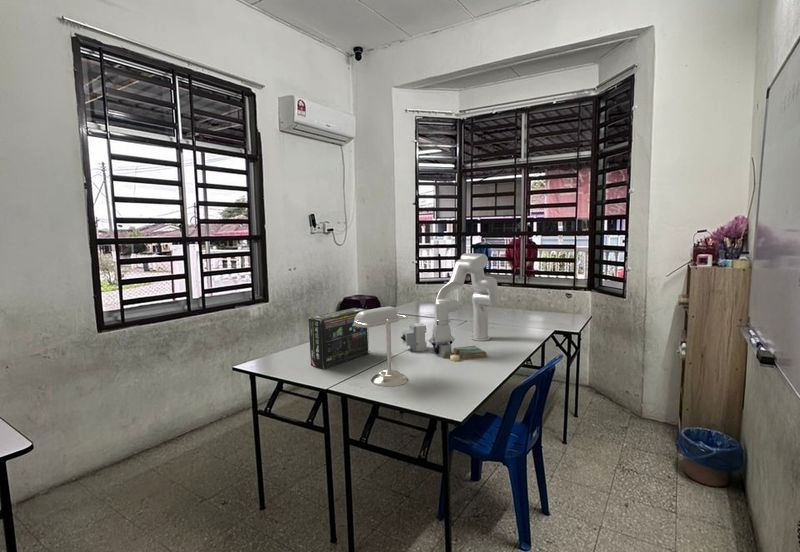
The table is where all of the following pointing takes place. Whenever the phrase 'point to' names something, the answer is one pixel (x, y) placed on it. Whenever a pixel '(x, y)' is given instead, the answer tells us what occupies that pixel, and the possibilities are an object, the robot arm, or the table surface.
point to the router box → (336, 338)
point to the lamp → (387, 317)
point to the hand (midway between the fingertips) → (441, 352)
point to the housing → (443, 349)
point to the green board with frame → (469, 352)
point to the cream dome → (454, 357)
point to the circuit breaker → (415, 337)
